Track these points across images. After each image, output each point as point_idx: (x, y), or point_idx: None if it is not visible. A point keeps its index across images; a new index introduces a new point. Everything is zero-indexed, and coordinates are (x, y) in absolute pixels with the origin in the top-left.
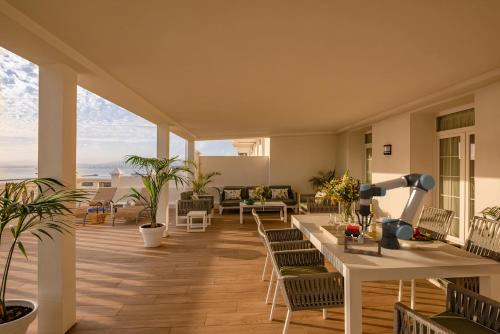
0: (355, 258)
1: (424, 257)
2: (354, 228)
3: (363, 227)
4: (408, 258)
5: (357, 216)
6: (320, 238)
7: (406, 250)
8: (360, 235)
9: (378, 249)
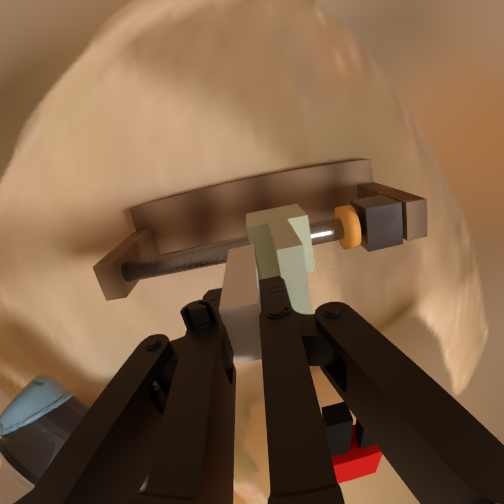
0: (266, 74)
1: (26, 323)
2: (350, 462)
3: (254, 299)
4: (44, 275)
5: (496, 445)
6: (473, 330)
7: (98, 380)
8: (283, 226)
9: (139, 236)
